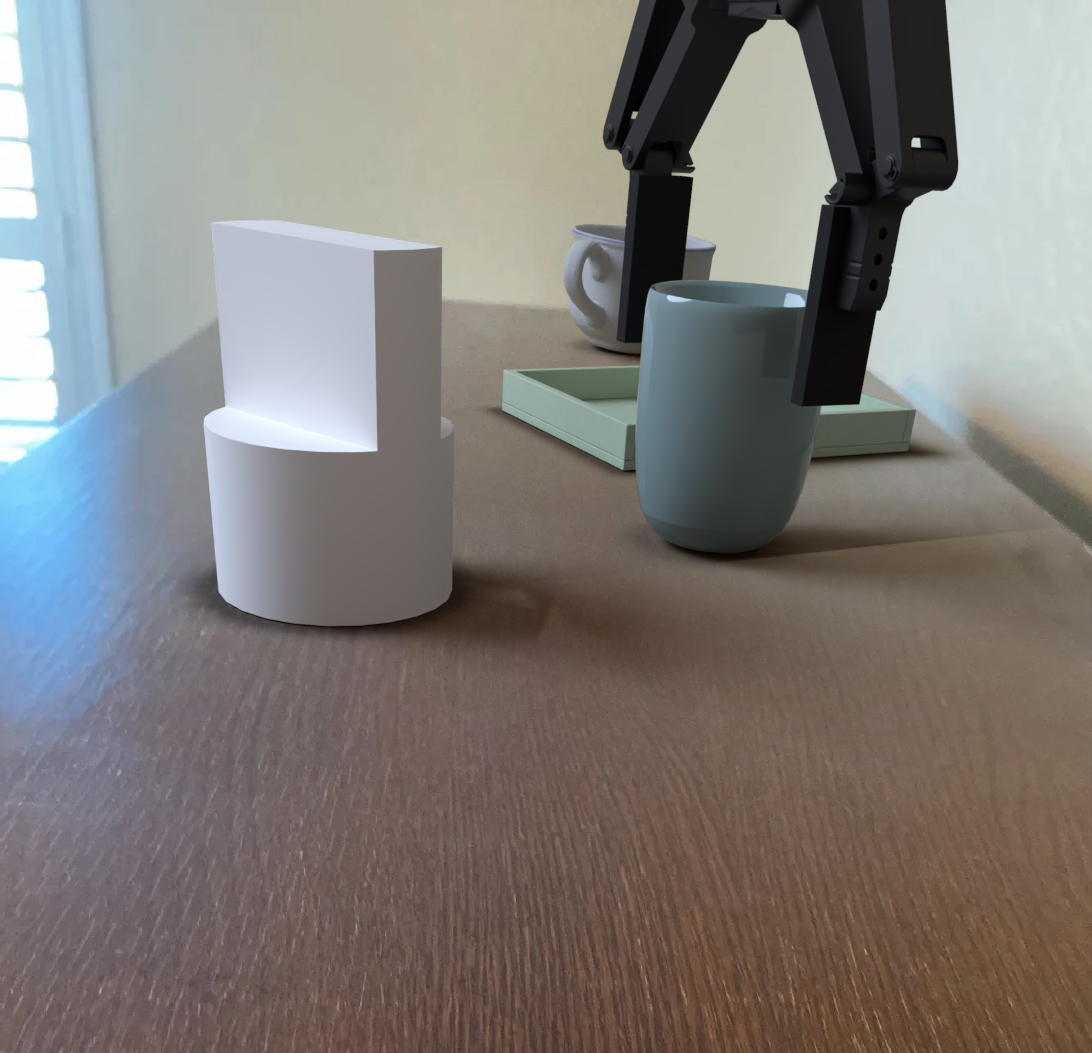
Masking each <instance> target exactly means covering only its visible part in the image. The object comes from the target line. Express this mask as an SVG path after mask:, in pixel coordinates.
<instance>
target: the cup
mask: <svg viewBox="0 0 1092 1053" xmlns="http://www.w3.org/2000/svg"><path fill="white" fill-rule="evenodd" d="M807 295H808V289H802V288H797V287H789V286H782V285H775V284H774V285H773V284H766V283H756V282H755V283H754V282H745V281H744V282H743V281H730V280H711V279H709V280H677V281H666V282H660V283H656V284H654V285H652V286H651V287H650V289H649V291H648V295H647V301H646V307H645V316H644V326H643V336H642V347H641V354H640V359H639V365H640V371H639V383H638V396H637V412H636V434H635V467H636V470H635V481H636V490H637V497H638V502H639V504H640V509H641V511H642V514H643V517H644V519H645V521H646V522H647V523H648V525H649V526H650V528H651V529H652V531H653V532H654V533H656V535H658V536H659V537H660V538H662V539H663V540H665V541H667V542H668V543H670V544H672V545H674V546H678V547H681V548H685V549H689V550H694V551H699V552H705V553H713V554H738V553H740V554H741V553H747V552H750V551H754V550H756V549H759V548H762V547H763V546H765V545H767V544H769V543H770V542H772V541H773V540H774V539H775V538H776V537H777V536H778V535H780V533H781V532H783V530H784V528H786V526H787V525H788V523H789V522H790V520H791V518H792V516H793V514H794V512H795V510H796V508H797V506H798V503H799V500H800V497H801V495H802V493H803V492H802V491H803V489H804V485H805V482H806V480H807V479H806V478H807V476H808V472H809V468H810V464H811V461H812V458H811V456H812V452H813V448H814V443H815V439H816V434H817V429H818V424H819V418H820V413H821V407H822V406H806V407H802V406H799V405H796V404H793V403H791V396H792V390H793V384H794V377H795V371H796V365H797V358H798V352H799V346H800V339H801V333H802V326H803V320H804V314H805V307H806V301H807Z"/></svg>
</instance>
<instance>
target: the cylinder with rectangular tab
mask: <svg viewBox="0 0 1092 1053" xmlns="http://www.w3.org/2000/svg"><path fill="white" fill-rule="evenodd" d="M210 228H211V229H210V230H211V231H210V232H211V243H212V245H211V246H212V257H213V270H214V282H215V283H214V284H215V293H216V294H215V295H216V306H217V319H218V320H217V321H218V331H219V344H220V356H221V367H222V368H221V369H222V370H221V371H222V382H223V395H224V406H223V407H220V408H217V409H214V410H212V411H211V412H209V413H208V414H207V415H205V416H204V418H203V434H204V444H205V453H206V454H205V455H206V466H207V477H208V487H209V488H208V490H209V499H210V511H211V512H210V513H211V521H212V522H211V524H212V532H213V544H214V555H215V565H216V566H215V568H216V578H217V589H218V590H217V591H218V593H219V595H220V596H221V597H222V599H224V601H225V602H226V603H228V604H229V605H231V606H233V607H236V608H237V609H238V610H240V611H242V612H244V613H248V614H251V615H254V616H258V617H260V618H264V619H268V620H273V621H278V622H284V623H289V624H294V625H295V624H296V625H308V626H309V625H310V626H322V627H352V626H353V627H357V626H359V627H360V626H368V625H369V626H370V625H377V624H387V623H394V622H397V621H402V620H407V619H411V618H416V617H418V616H421V615H423V614H427V613H429V612H431V611H434V610H436V609H437V608H439V607H440V606H442V605H443V604H444V603H446V602H447V601H448V600H449V598H450V596H451V593H452V591H453V559H454V558H453V556H454V555H453V554H454V553H453V552H454V551H453V549H454V547H453V546H454V479H455V478H454V476H455V475H454V473H455V472H454V471H455V470H454V467H455V463H454V462H455V427H454V425H453V423H452V422H451V420H449V419H448V418H446V417H444V416H442V340H443V339H442V332H443V330H442V329H443V327H442V325H443V324H442V322H443V321H442V318H443V315H442V314H443V297H442V296H443V246H440V245H434V244H429V243H421V242H415V241H409V240H404V239H397V238H391V237H385V236H378V235H372V234H367V233H366V234H365V233H360V232H355V231H348V230H341V229H335V228H329V227H323V226H317V225H312V224H311V225H310V224H305V223H300V222H299V223H298V222H293V221H286V220H280V219H252V220H251V219H249V220H248V219H247V220H246V219H242V220H221V221H211V222H210Z"/></svg>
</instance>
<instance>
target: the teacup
mask: <svg viewBox="0 0 1092 1053" xmlns="http://www.w3.org/2000/svg"><path fill="white" fill-rule="evenodd" d="M625 227H626V225H619V224H601V223H596V224H595V223H583V224H575V225H574V226H572V230H571V232H572V239H573V240H572V245H571V247H570V248H569V249H568V252H567V254H566V257H565V259H564V264H563V270H562V271H563V272H562V274H563V275H562V277H563V285H564V288H565V291H566V293H567V295H568V309H569V313H570V317H571V319H572V321H573V322H574V324H575V325H576V326H577V328H578V329H579V330H580V331H581V332H582V333H583V335H584V338H585V339H586V340H587V342H588V343H589V344H591V345H593V346H596V347H600V348H602V349H606V350H608V351H614V352H618V353H626V354H632V355H641V347H642V343H623V342H620V341H617V340H616V339H617V327H618V316H619V304H620V292H621V280H622V269H623V257H624V245H625V244H624V237H625ZM716 250H717V245H716V244H715V243H714V242H712V241H710V240H707V239H703V238H700V237H697V236H693V235H689V234H687V242H686V251H685V260H684V269H683V279H682V280H710V277H711V272H712V264H713V258H714V254H715V252H716Z"/></svg>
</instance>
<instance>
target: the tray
mask: <svg viewBox="0 0 1092 1053" xmlns="http://www.w3.org/2000/svg"><path fill="white" fill-rule="evenodd" d="M639 371H640V364H639V365H612V366H611V365H609V366H579V367H578V366H577V367H575V366H574V367H547V368H546V367H545V368H515V369H503V371H502V397H501V398H502V400H501V401H502V402H501V410H502V412H505V413H507V414H509V415H511V416H513V417H515V418H517V419H518V420H521V421H523V422H525V423H527V424H529V425H531V426H533V427H534V428H537V429H539V430H541V431H543V432H545V433H547V434H549V435H551V436H552V437H555V438H557V439H559V440H561V441H563V442H565V443H567V444H569V445H571V446H573V447H575V448H577V449H579V450H582V451H583V452H585V453H587V454H589V455H591V456H593V457H595V458H597V459H598V460H599V459H600V460H601V461H603V462H605V463H607V464H609V465H610V466H611V465H612V466H613V467H615V468H617V469H619V470H621V471H623V472H624V471H625V472H626V471H636V467H635V434H636V412H637V396H638V383H639ZM916 413H917V410H916V408H912V407H909V406H906V405H903V404H901V403H897V402H894V401H891V400H888V399H884V398H882V397H878V396H876V395H872V394H869V393H866V392H863V391H862V394H861V399H860V404H859V405H834V406H822V407H821V413H820V418H819V424H818V429H817V434H816V439H815V443H814V448H813V452H812V456H811V459H813V458H814V459H815V458H827V457H828V458H830V457H844V456H856V455H857V456H858V455H872V454H873V455H874V454H886V453H900V452H901V453H902V452H908V451H909V448H910V442H911V438H912V433H913V428H914V423H915V418H916Z"/></svg>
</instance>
